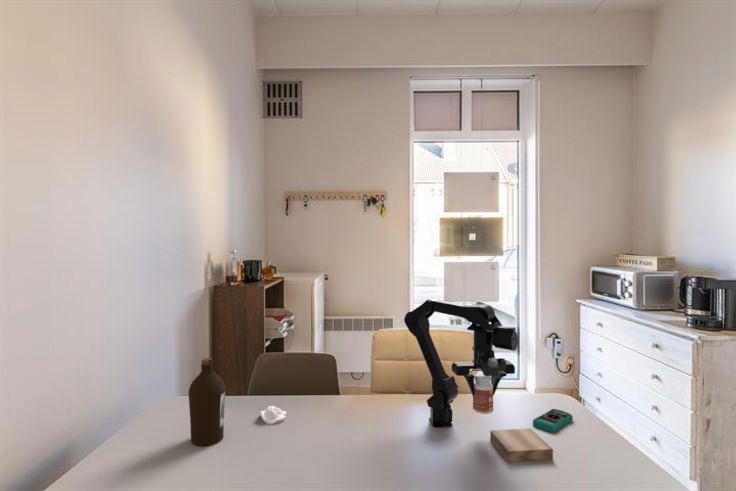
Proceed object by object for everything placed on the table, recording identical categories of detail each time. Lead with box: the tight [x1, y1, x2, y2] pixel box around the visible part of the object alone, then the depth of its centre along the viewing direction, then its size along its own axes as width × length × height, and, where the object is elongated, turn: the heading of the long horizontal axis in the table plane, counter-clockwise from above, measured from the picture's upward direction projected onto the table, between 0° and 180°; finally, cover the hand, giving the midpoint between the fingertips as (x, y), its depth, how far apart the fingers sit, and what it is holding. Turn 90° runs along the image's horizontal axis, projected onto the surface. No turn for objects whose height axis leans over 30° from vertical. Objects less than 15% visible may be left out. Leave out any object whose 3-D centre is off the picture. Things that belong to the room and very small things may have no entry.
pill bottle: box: [472, 373, 494, 415], centre depth 134 cm, size 6×6×11 cm
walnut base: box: [489, 428, 554, 463], centre depth 126 cm, size 13×13×3 cm
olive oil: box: [188, 357, 226, 447], centre depth 132 cm, size 11×11×25 cm
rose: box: [259, 405, 287, 425], centre depth 148 cm, size 10×4×10 cm
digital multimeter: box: [532, 408, 574, 434], centre depth 144 cm, size 7×15×3 cm, turn 131°
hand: (483, 394), depth 134 cm, fingers closed on pill bottle, 6 cm apart
